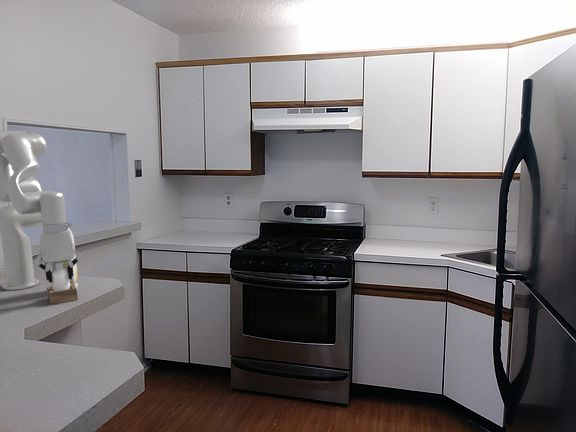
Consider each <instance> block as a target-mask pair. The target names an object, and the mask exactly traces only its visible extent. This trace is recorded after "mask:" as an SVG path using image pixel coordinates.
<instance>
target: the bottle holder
mask: <svg viewBox="0 0 576 432" xmlns="http://www.w3.org/2000/svg"><path fill="white" fill-rule="evenodd" d="M46 292H47V293H46V294H47V300H48V301H49V302H50V304H51V305H52V306H53V305H59V304H64V303H69V302H75V301H78V300H79V298H78V288H76V287H75V286H74V285H73V284H72V283H70V289H68V290H62V291H56V292H53V290H52V285H51V286H46Z"/></svg>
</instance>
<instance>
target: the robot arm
mask: <svg viewBox="0 0 576 432" xmlns="http://www.w3.org/2000/svg"><path fill="white" fill-rule="evenodd" d="M47 145H48V144H47V141H46V140H45V138H44V137H43V136H42V135H41V134H40V133H36V132H32V131H27V130H2V129H0V203H5V204H6V203H11V204H10V205H6V206H2V207H0V239H1V247H2V253H3V254H2V256H3V263H4V265H3V266H4V272H5V281H6V283H4V284H3V285H2V286H1V287H2V289H3V290H4V291H14V290H15V291H17V290H23V289H24V290H25V289H29V288H32V287H36V286H38V285H39V284H41V283H40V279H37V278H35V270H34V265H35V266H37V267H39V268H40V269H42V270H43V271H45V272H44V273H45V279H46V281H48V283H49V284H50V283H51V282H52V277H51V272H52V270H51V268H50V267H51V263H52V262H59V261H67V263H68V267H67V269H68V271H69V279H72V276H74V274H73V267H74V265H75V264H77V263H78V262H79V260H81V258H82V257H83V255H82V254H81V253H80V252H78V251H77V250H76V248H75V249H74V248H73V242H72V238H71V234H70V231H68V228H69V229H70V228H72V226H73V225H72V223H68V222H67V221H68V220H67V214H66V202H65V196H64V194H63V193H62V192H59V191H52V190H43V189H42V186H41V184H40V182H39V180H38V179H37V178H35V177H34V176H36V175H37V174H38V173H39V171H40V168H41V167H40V164H39V162H38V160H37V157H42V156H44V155H46V153H47V150H48V146H47ZM38 227H42V233H40V236H39V254H38V255H37V256H36V257H35V258H34V259H33V252H32V251H33V250H32V244H31V240H30V239H31V238H30V237H29V236H28V235H27V234H26V233H25V232H24V231H23V230H25V229H26V230H27V229H33V228H38ZM74 254H75V255H76V257H75V259H73V258H74ZM71 259H73V260H72V261H71ZM40 261H42V262H43V263H44V264H43V263H42V262H40Z"/></svg>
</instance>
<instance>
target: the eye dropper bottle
mask: <svg viewBox="0 0 576 432" xmlns="http://www.w3.org/2000/svg"><path fill="white" fill-rule="evenodd" d="M51 277H52V282H51V286H52V290H53V292H56V291H62V290H68V289H70V279H69V271H68V269H65V268H63V262H61V261H59V262H56V263H55V270H53V271H52V270H51Z"/></svg>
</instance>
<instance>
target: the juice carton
mask: <svg viewBox="0 0 576 432" xmlns="http://www.w3.org/2000/svg"><path fill="white" fill-rule="evenodd" d="M68 231H70V234H71V238H72V242H73V248H74V249H75V250H76V246H75V237H74V234H73V232H72V230H71V229H70V227H69V228H68ZM75 257H76V255H75V254H74V258H73V259H75ZM73 259H71V261H72V260H73ZM61 262H63V268H65V269H67V267H68V263H67V261H61ZM55 263H56V262H52V263H51V265H50V267H51V272H52V271H53V270H55ZM73 274H74V276H72V279H70V283H72V284H73V285H74V286H75V287H76V288H77V289H78V287H79V278H78V277H79V276H78V274H79V273H78V266H77V263H76V264H75V265H74V267H73Z"/></svg>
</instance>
